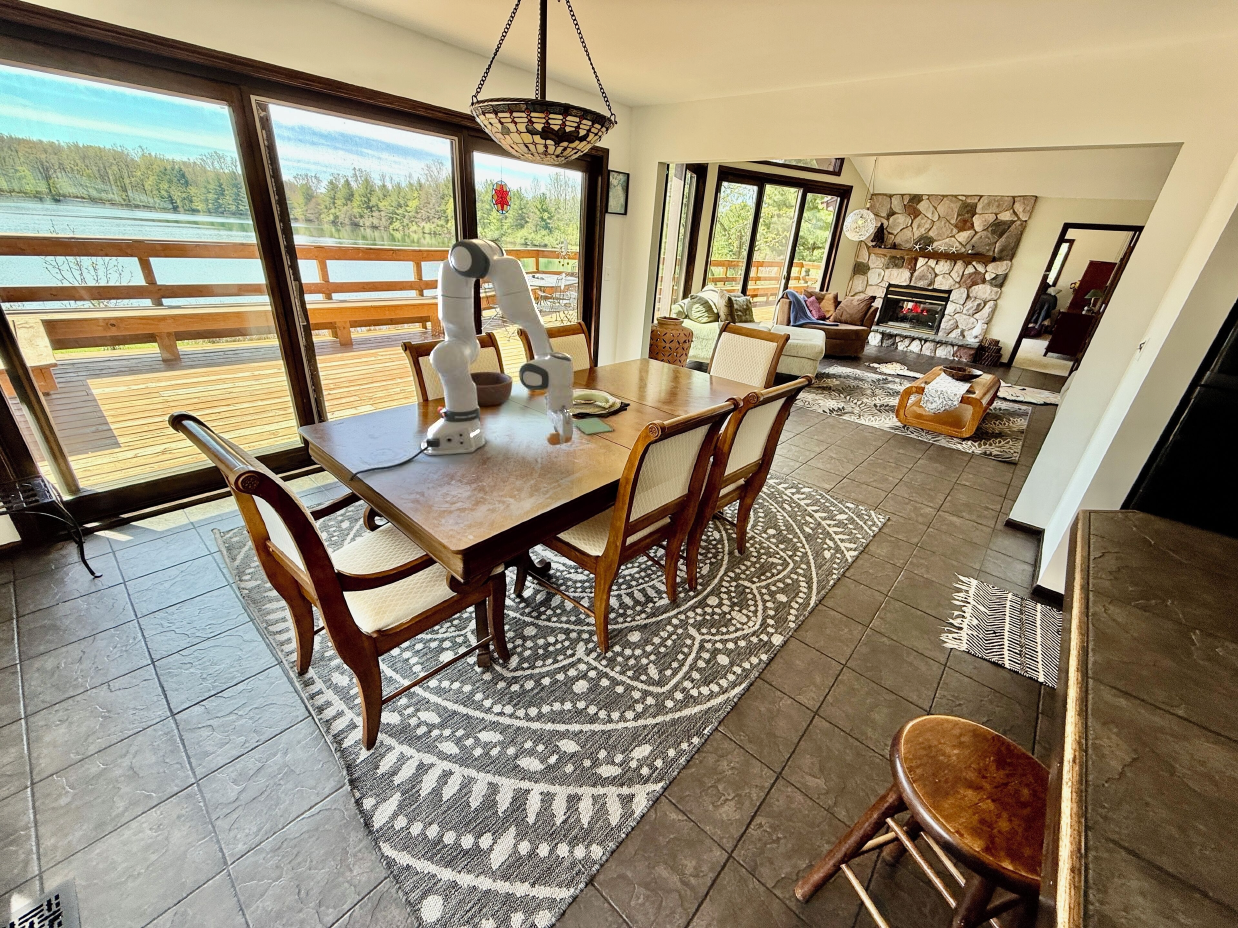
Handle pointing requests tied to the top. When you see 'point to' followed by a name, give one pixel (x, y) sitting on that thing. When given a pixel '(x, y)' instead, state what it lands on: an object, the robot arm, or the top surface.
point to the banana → (592, 397)
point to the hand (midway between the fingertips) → (559, 439)
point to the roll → (556, 439)
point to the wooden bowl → (492, 387)
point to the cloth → (592, 425)
